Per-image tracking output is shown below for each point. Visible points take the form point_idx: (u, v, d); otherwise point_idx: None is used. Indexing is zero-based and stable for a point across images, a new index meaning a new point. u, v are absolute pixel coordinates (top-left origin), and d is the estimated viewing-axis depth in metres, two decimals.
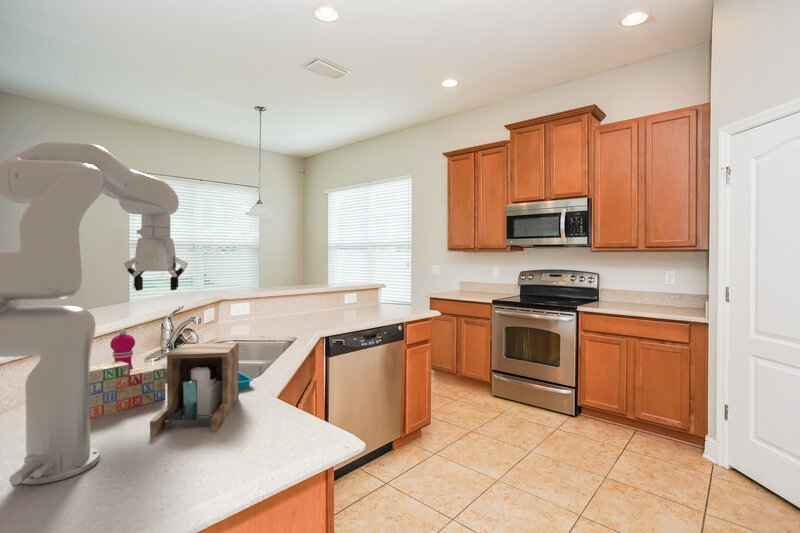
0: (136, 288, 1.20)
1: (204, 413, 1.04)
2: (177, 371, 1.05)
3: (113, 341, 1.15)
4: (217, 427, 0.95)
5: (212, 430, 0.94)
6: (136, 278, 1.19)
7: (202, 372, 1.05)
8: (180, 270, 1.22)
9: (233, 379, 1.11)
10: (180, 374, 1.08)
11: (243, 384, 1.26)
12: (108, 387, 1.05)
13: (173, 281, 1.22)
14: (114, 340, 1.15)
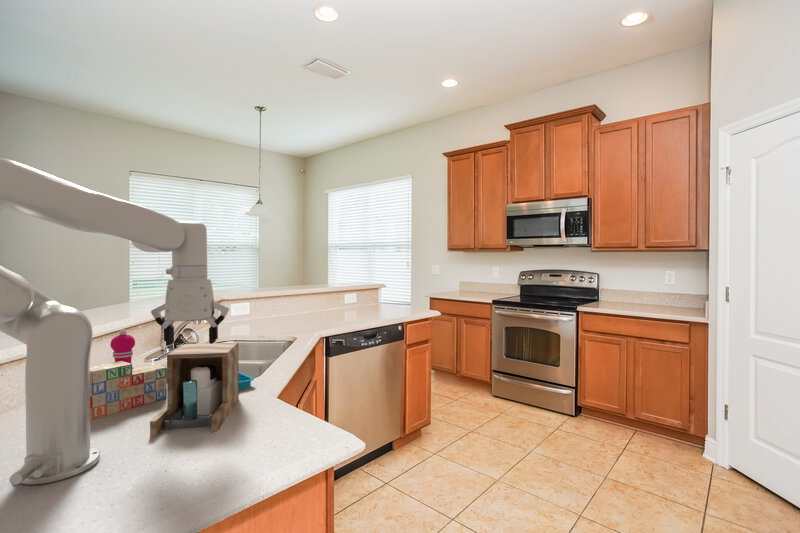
0: (167, 342, 0.95)
1: (204, 413, 1.04)
2: (177, 371, 1.05)
3: (113, 341, 1.15)
4: (217, 427, 0.95)
5: (212, 430, 0.94)
6: (166, 330, 0.95)
7: (202, 372, 1.05)
8: (220, 318, 0.98)
9: (233, 379, 1.11)
10: (180, 374, 1.08)
11: (244, 384, 1.26)
12: (111, 387, 1.05)
13: (212, 332, 0.98)
14: (114, 340, 1.15)
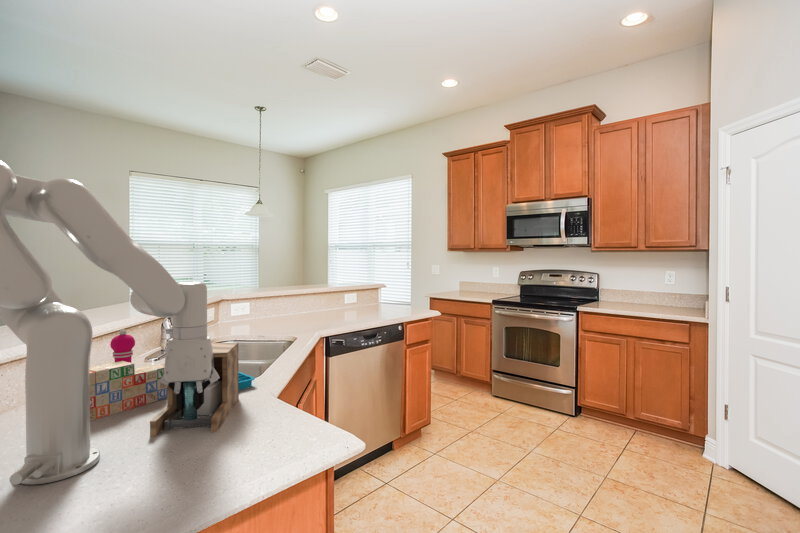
0: (179, 408, 0.96)
1: (204, 413, 1.04)
2: None
3: (113, 341, 1.15)
4: (217, 427, 0.95)
5: (212, 430, 0.94)
6: (179, 395, 0.96)
7: None
8: (207, 383, 0.97)
9: (233, 379, 1.11)
10: None
11: (246, 383, 1.26)
12: (114, 386, 1.06)
13: (198, 398, 0.97)
14: (114, 340, 1.15)
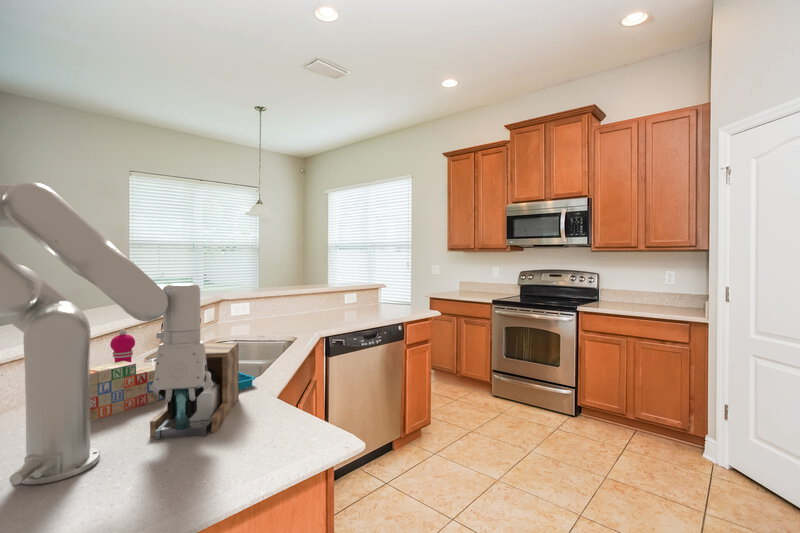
0: (170, 416, 0.90)
1: (206, 418, 1.01)
2: None
3: (113, 341, 1.15)
4: (217, 427, 0.95)
5: (212, 430, 0.94)
6: (170, 403, 0.90)
7: None
8: (200, 390, 0.92)
9: (233, 379, 1.11)
10: None
11: (246, 383, 1.27)
12: (116, 386, 1.06)
13: (191, 406, 0.92)
14: (114, 340, 1.15)
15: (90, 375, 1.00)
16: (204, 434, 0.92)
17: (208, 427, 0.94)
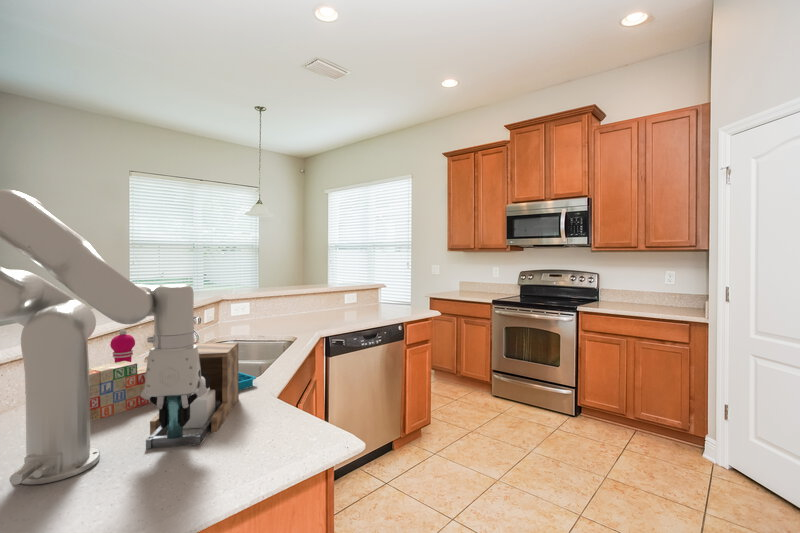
0: (162, 425, 0.86)
1: (200, 425, 0.97)
2: None
3: (113, 341, 1.15)
4: (217, 427, 0.95)
5: (212, 430, 0.94)
6: (162, 411, 0.86)
7: None
8: (193, 397, 0.88)
9: (233, 379, 1.11)
10: None
11: (247, 383, 1.27)
12: (118, 386, 1.06)
13: (184, 414, 0.87)
14: (114, 340, 1.15)
15: (92, 375, 1.01)
16: (198, 443, 0.88)
17: (202, 436, 0.89)
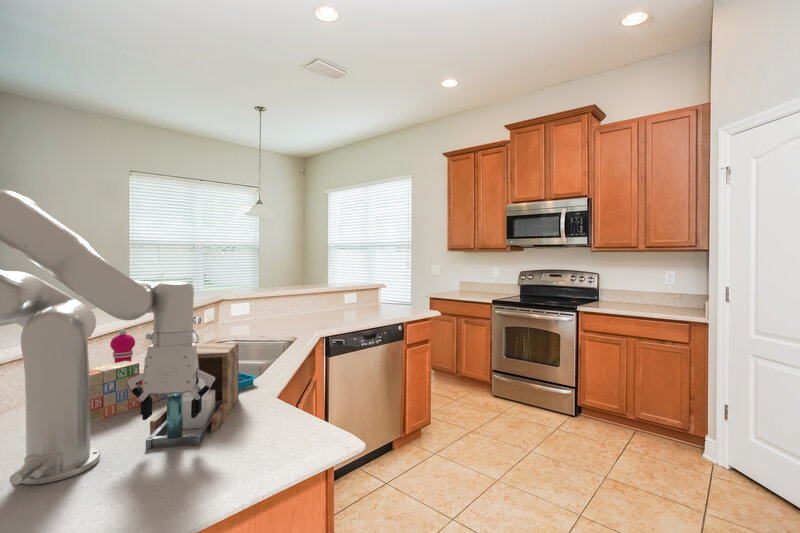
0: (143, 417, 0.85)
1: (200, 426, 0.97)
2: None
3: (113, 341, 1.15)
4: (217, 427, 0.95)
5: (212, 430, 0.94)
6: (144, 403, 0.85)
7: None
8: (205, 389, 0.88)
9: (233, 379, 1.11)
10: None
11: (248, 382, 1.28)
12: (121, 386, 1.06)
13: (195, 405, 0.87)
14: (114, 340, 1.15)
15: (96, 375, 1.01)
16: (198, 443, 0.88)
17: (201, 436, 0.89)
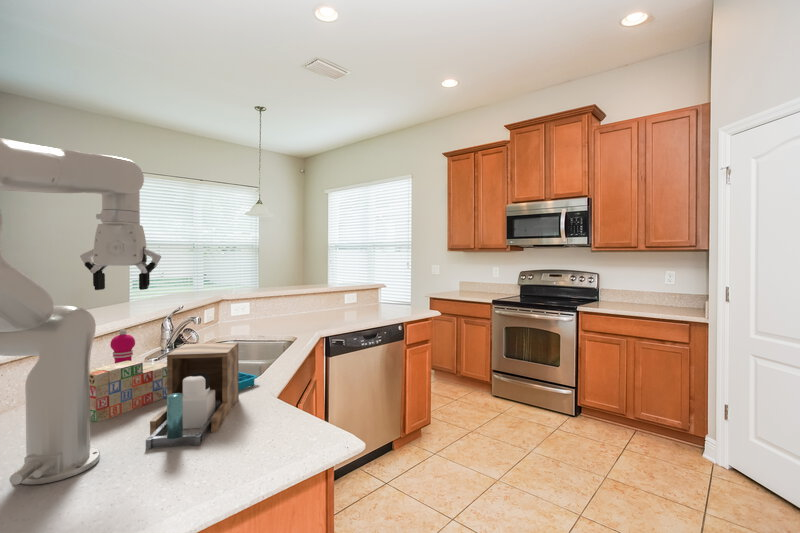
0: (95, 287, 0.95)
1: (200, 426, 0.97)
2: (177, 371, 1.05)
3: (113, 341, 1.15)
4: (217, 427, 0.95)
5: (212, 430, 0.94)
6: (95, 274, 0.95)
7: (197, 381, 0.97)
8: (151, 264, 0.98)
9: (233, 379, 1.11)
10: (180, 374, 1.08)
11: (250, 381, 1.28)
12: (125, 385, 1.06)
13: (143, 279, 0.98)
14: (114, 340, 1.15)
15: (102, 375, 1.01)
16: (198, 443, 0.88)
17: (201, 436, 0.89)
